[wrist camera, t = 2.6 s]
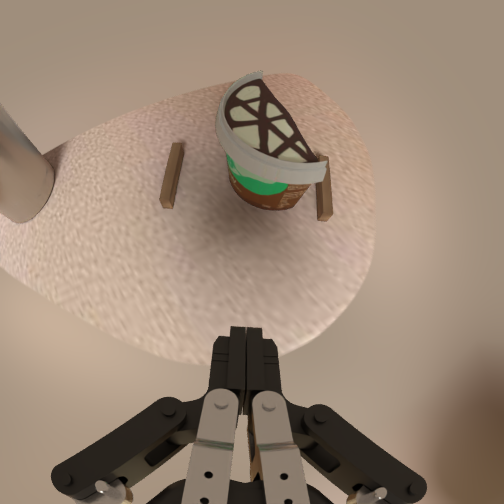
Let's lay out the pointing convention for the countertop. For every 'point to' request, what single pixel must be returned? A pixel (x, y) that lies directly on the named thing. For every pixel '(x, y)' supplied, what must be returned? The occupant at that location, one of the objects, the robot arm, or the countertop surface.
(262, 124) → the food container
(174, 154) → the slot rails
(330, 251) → the countertop surface
